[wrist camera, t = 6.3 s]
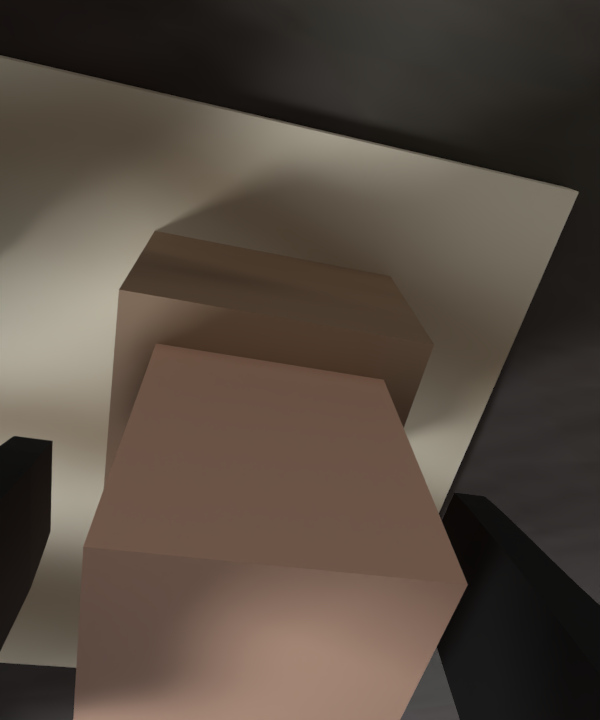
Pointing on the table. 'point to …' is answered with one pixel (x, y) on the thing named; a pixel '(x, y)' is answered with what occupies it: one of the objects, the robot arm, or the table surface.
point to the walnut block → (261, 319)
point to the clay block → (260, 551)
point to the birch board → (236, 228)
